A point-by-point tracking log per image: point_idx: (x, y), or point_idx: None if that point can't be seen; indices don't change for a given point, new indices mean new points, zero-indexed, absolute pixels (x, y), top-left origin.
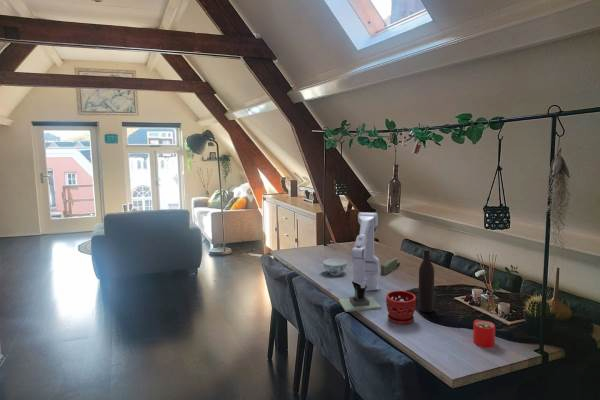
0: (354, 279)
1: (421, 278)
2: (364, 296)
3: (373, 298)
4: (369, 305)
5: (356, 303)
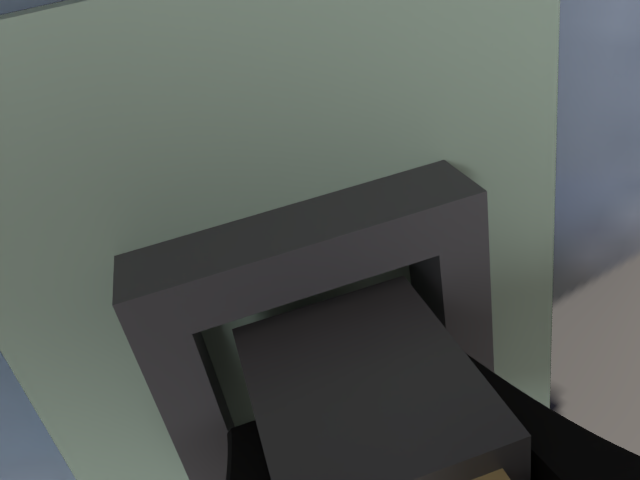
0: None
1: None
2: (454, 343)
3: (6, 32)
4: (457, 158)
5: None
